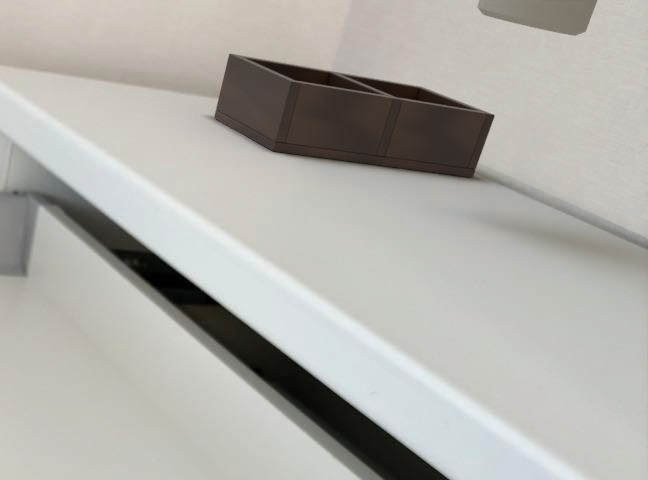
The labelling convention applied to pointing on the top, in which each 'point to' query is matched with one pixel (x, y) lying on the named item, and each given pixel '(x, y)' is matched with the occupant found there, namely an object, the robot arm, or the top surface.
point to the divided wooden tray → (350, 117)
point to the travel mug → (543, 13)
